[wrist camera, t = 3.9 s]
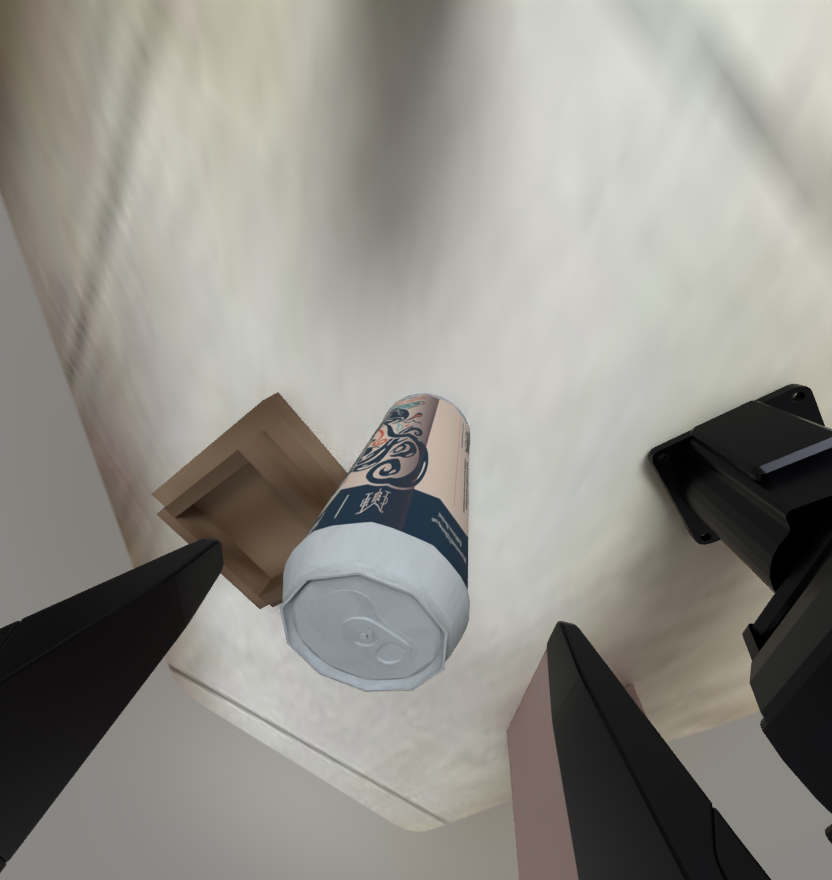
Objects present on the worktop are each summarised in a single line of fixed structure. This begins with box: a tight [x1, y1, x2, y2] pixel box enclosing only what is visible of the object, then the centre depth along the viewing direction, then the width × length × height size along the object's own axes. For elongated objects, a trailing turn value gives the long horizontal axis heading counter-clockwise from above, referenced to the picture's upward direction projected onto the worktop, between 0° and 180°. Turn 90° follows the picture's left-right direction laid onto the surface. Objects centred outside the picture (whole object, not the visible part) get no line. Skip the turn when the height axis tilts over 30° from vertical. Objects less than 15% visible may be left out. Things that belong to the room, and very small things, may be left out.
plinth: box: [152, 393, 347, 609], centre depth 21 cm, size 11×11×3 cm
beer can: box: [280, 394, 470, 692], centre depth 13 cm, size 5×5×12 cm
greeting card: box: [507, 649, 646, 880], centre depth 19 cm, size 11×7×15 cm, turn 136°
